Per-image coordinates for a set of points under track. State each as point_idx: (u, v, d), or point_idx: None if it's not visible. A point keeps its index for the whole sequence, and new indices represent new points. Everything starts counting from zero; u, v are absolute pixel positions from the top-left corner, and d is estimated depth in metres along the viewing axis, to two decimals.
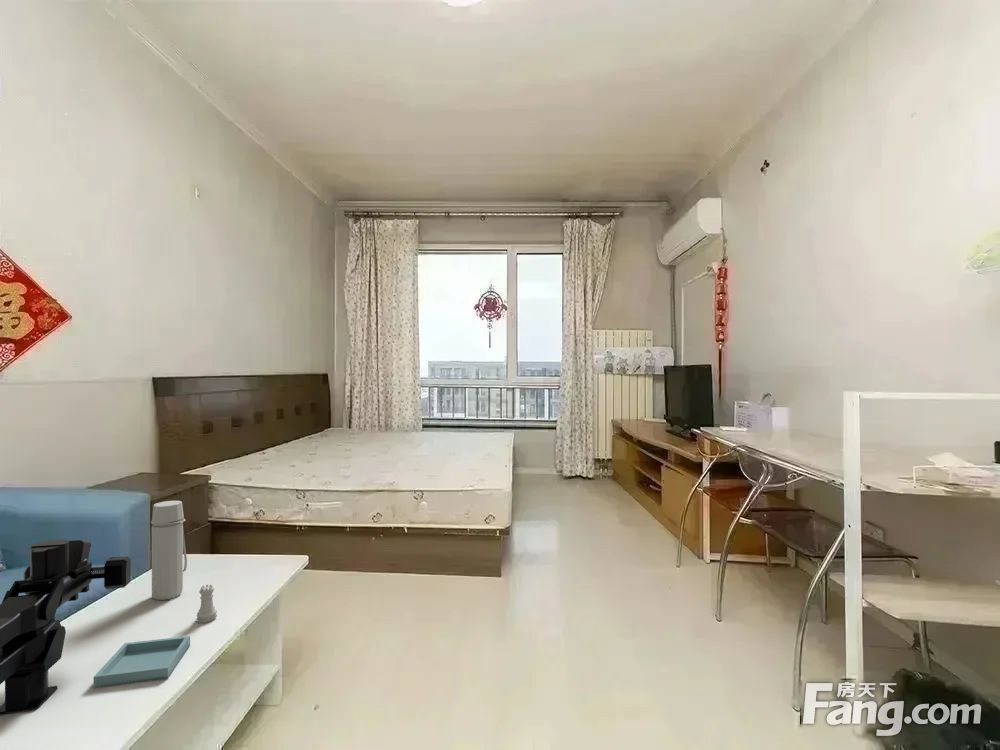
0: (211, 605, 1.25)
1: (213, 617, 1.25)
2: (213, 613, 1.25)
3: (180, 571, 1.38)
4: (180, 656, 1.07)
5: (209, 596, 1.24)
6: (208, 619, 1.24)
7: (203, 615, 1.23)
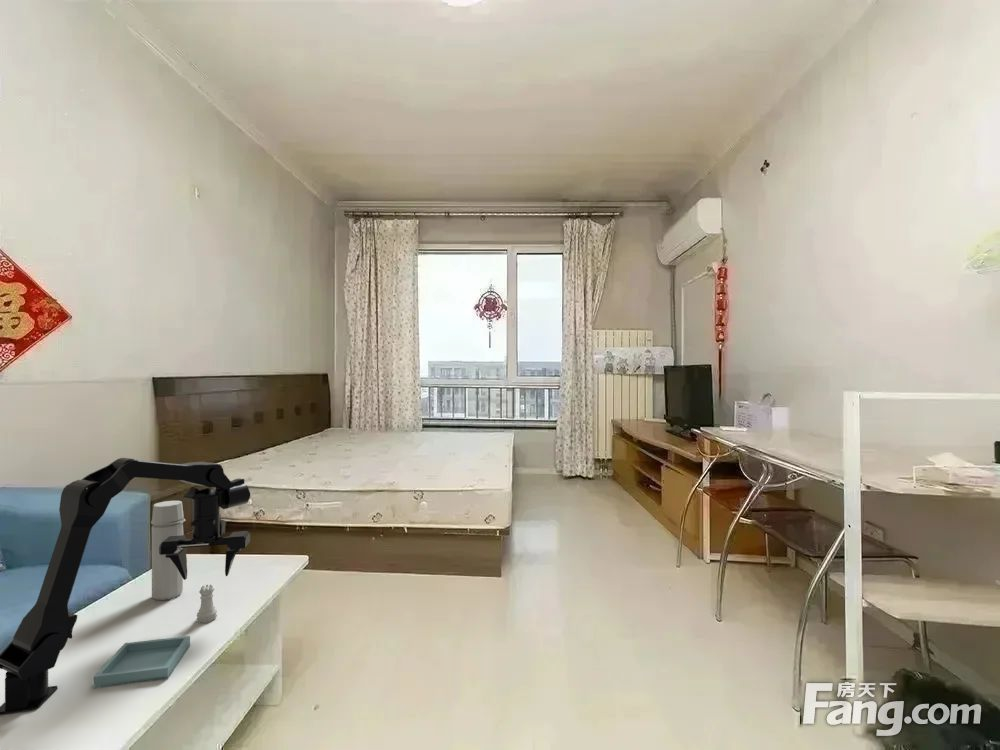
0: (211, 605, 1.25)
1: (213, 617, 1.25)
2: (213, 613, 1.25)
3: None
4: (180, 656, 1.07)
5: (209, 596, 1.24)
6: (208, 619, 1.24)
7: (203, 615, 1.23)
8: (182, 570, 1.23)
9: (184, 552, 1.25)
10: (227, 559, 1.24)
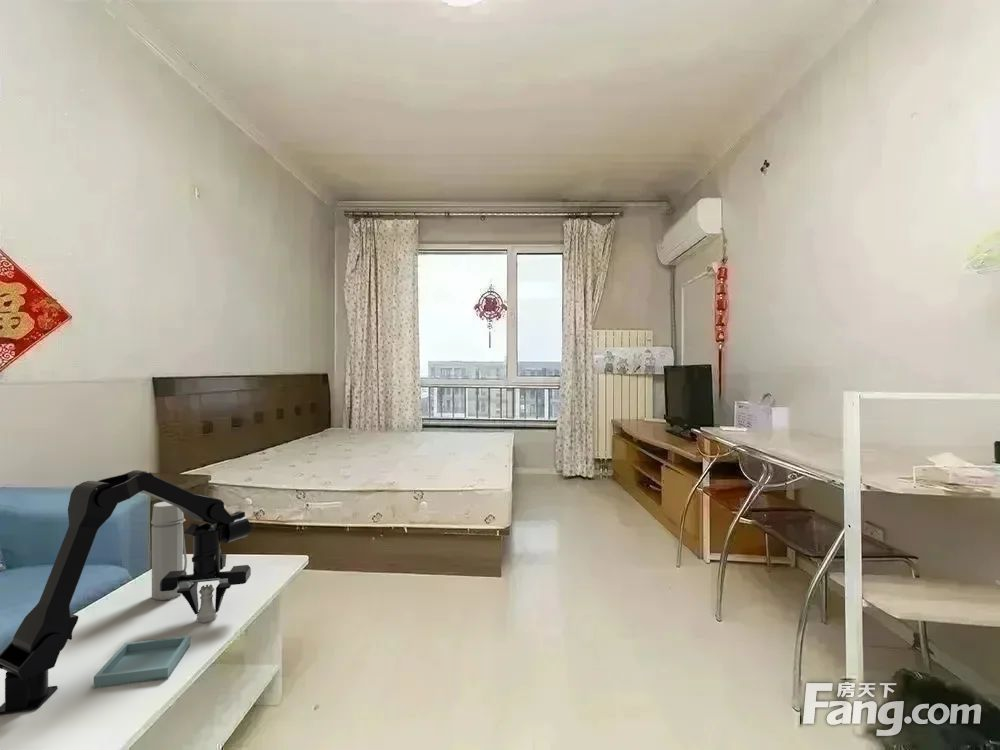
0: (211, 605, 1.25)
1: (213, 617, 1.25)
2: (213, 613, 1.25)
3: None
4: (180, 656, 1.07)
5: (208, 596, 1.24)
6: (208, 619, 1.24)
7: (203, 615, 1.23)
8: (193, 605, 1.23)
9: (195, 586, 1.25)
10: (217, 595, 1.24)
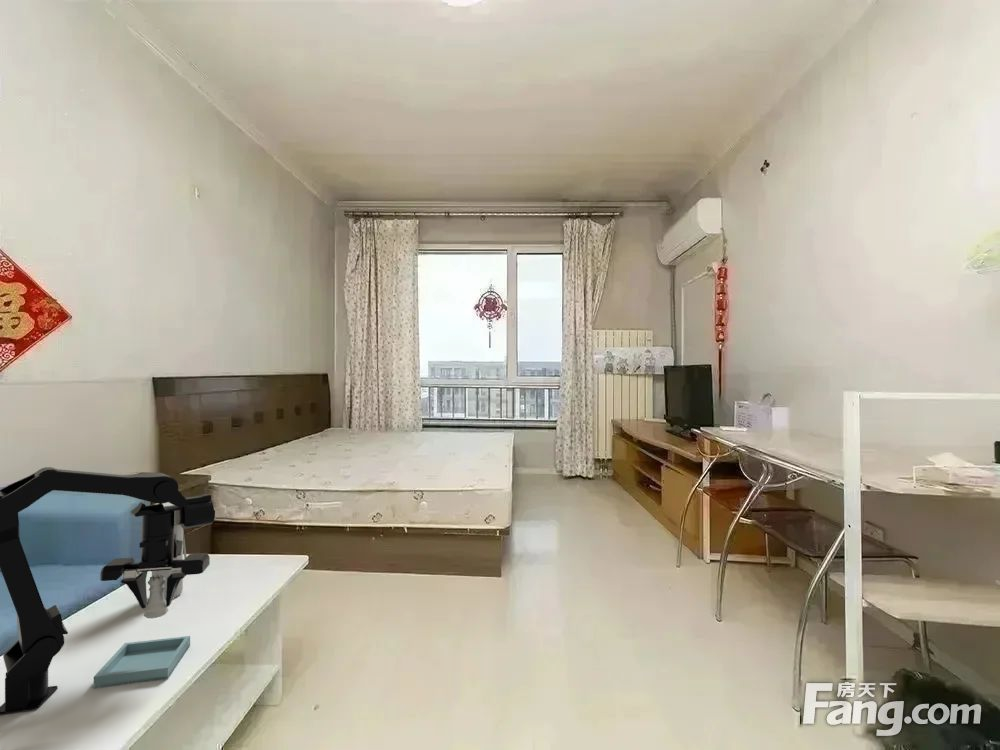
0: (161, 598, 1.08)
1: (163, 612, 1.08)
2: (163, 607, 1.08)
3: None
4: (180, 656, 1.07)
5: (159, 587, 1.08)
6: (157, 614, 1.07)
7: (151, 609, 1.07)
8: (140, 598, 1.07)
9: (144, 576, 1.09)
10: (168, 587, 1.07)
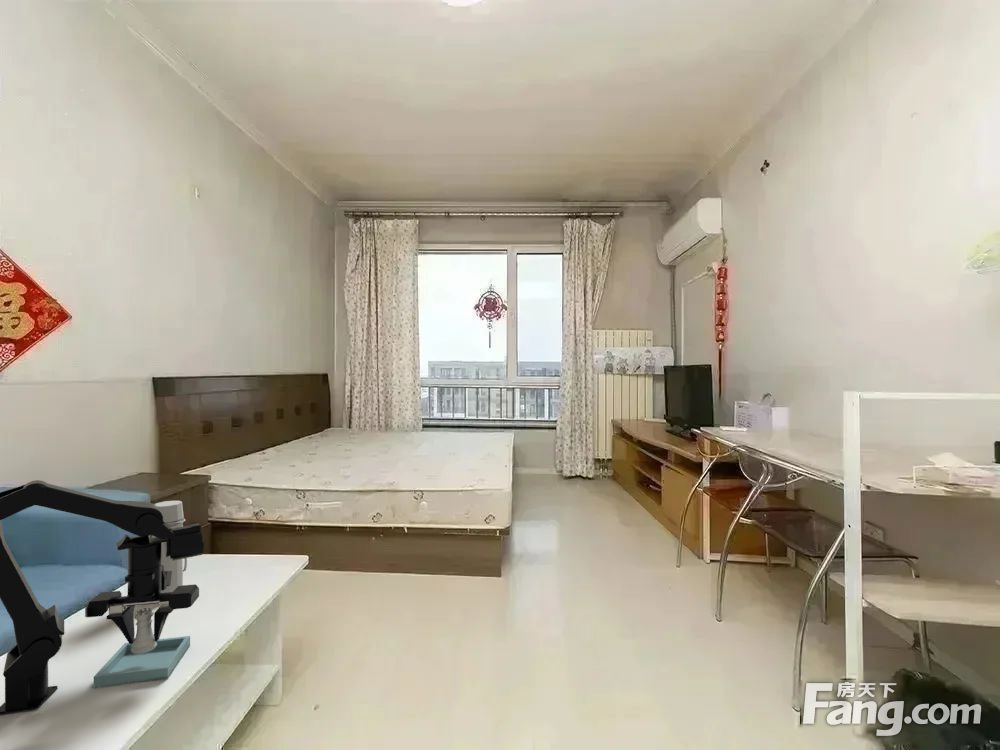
0: (149, 633, 1.05)
1: (151, 647, 1.05)
2: (151, 642, 1.04)
3: (180, 571, 1.38)
4: (180, 656, 1.07)
5: (146, 622, 1.04)
6: (145, 650, 1.04)
7: (139, 645, 1.03)
8: (127, 633, 1.03)
9: (131, 610, 1.05)
10: (156, 622, 1.04)
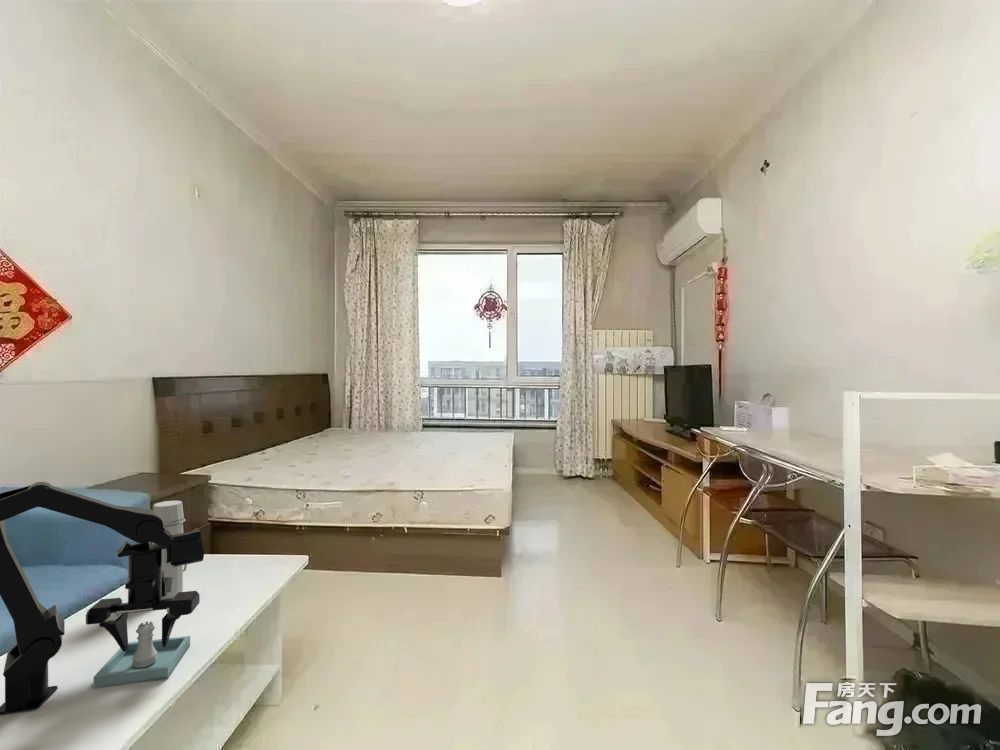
0: (150, 647, 1.05)
1: (152, 661, 1.05)
2: (152, 656, 1.05)
3: (180, 571, 1.38)
4: (180, 656, 1.07)
5: (147, 636, 1.04)
6: (146, 664, 1.04)
7: (140, 659, 1.03)
8: (120, 641, 1.03)
9: (124, 618, 1.05)
10: (164, 628, 1.04)
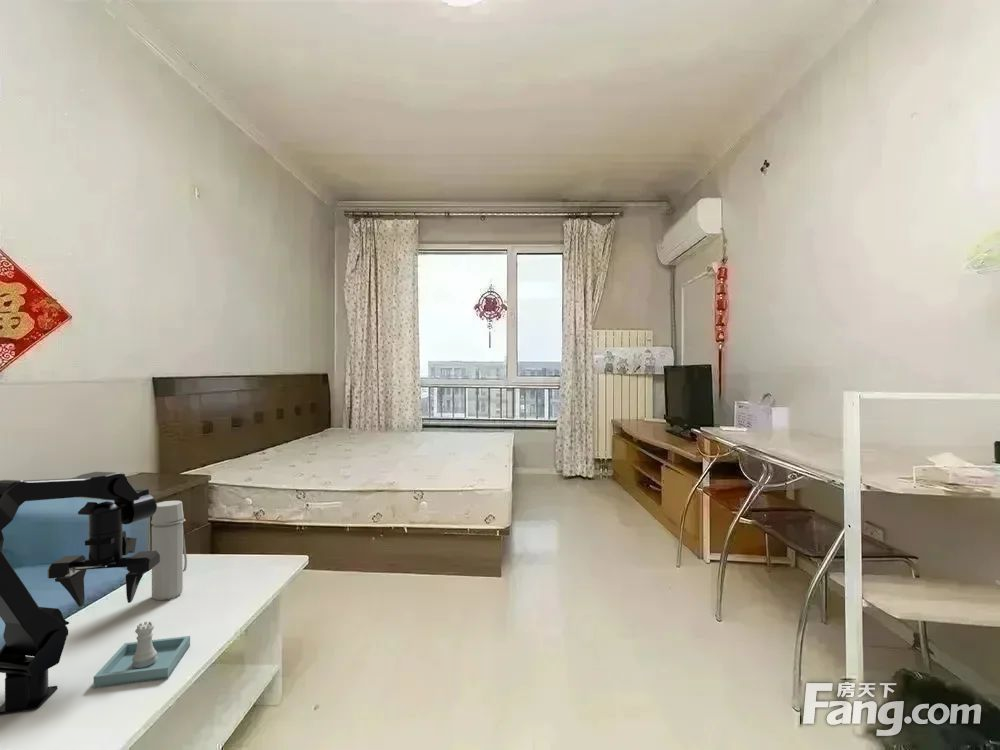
0: (150, 647, 1.05)
1: (152, 661, 1.05)
2: (152, 656, 1.05)
3: (180, 571, 1.38)
4: (180, 656, 1.07)
5: (146, 636, 1.04)
6: (145, 664, 1.04)
7: (139, 659, 1.03)
8: (76, 596, 1.07)
9: (81, 575, 1.09)
10: (128, 584, 1.08)
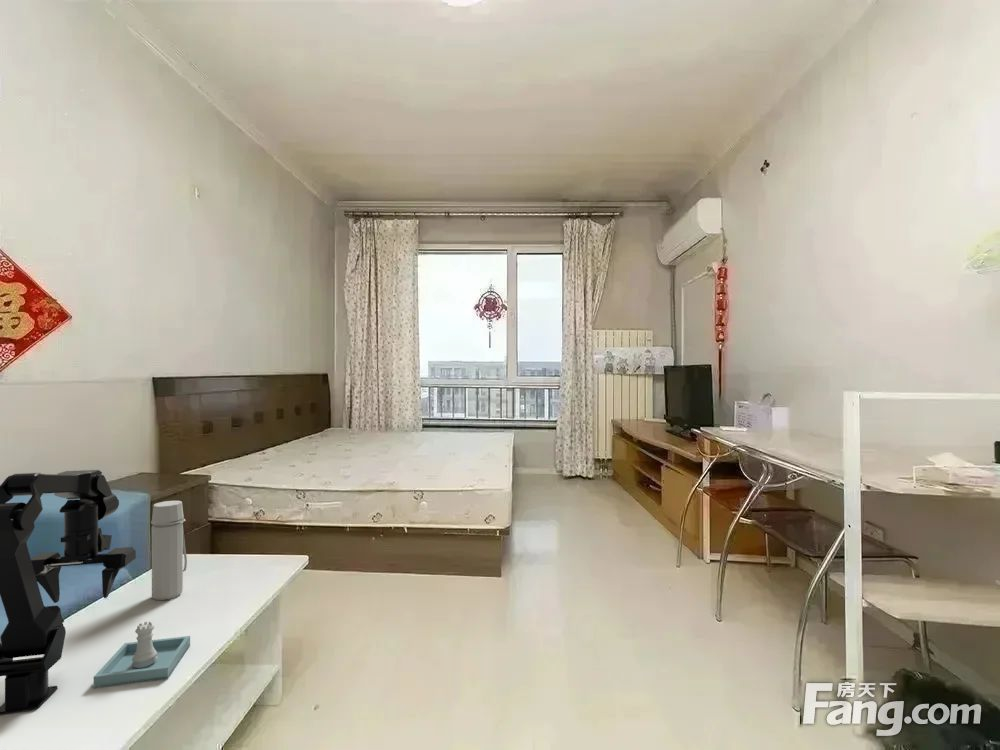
0: (150, 647, 1.05)
1: (152, 661, 1.05)
2: (152, 656, 1.05)
3: (180, 571, 1.38)
4: (180, 656, 1.07)
5: (146, 636, 1.04)
6: (145, 664, 1.04)
7: (139, 659, 1.03)
8: (51, 592, 1.09)
9: (56, 571, 1.11)
10: (104, 579, 1.10)
